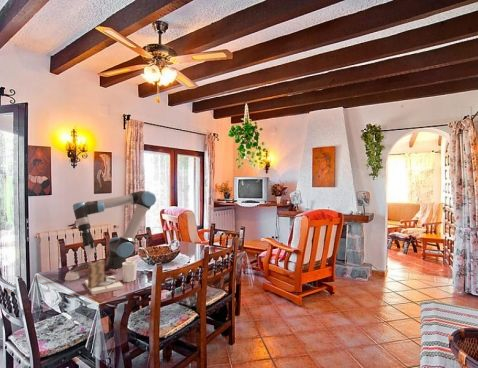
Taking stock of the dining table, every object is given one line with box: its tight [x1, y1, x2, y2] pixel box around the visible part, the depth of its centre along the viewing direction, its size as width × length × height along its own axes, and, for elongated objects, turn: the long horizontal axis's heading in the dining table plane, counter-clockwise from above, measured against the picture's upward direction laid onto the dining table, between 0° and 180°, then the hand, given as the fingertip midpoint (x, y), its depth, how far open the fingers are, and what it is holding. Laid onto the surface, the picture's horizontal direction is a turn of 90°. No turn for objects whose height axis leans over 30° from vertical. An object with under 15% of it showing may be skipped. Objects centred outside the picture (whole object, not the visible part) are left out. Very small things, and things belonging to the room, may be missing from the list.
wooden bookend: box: [87, 259, 116, 289], centre depth 184 cm, size 20×14×15 cm
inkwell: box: [64, 262, 93, 282], centre depth 203 cm, size 9×18×10 cm, turn 125°
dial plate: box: [84, 275, 124, 295], centre depth 187 cm, size 18×24×2 cm
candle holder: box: [121, 260, 138, 283], centre depth 199 cm, size 10×10×12 cm
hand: (91, 254), depth 198 cm, fingers open, 13 cm apart
